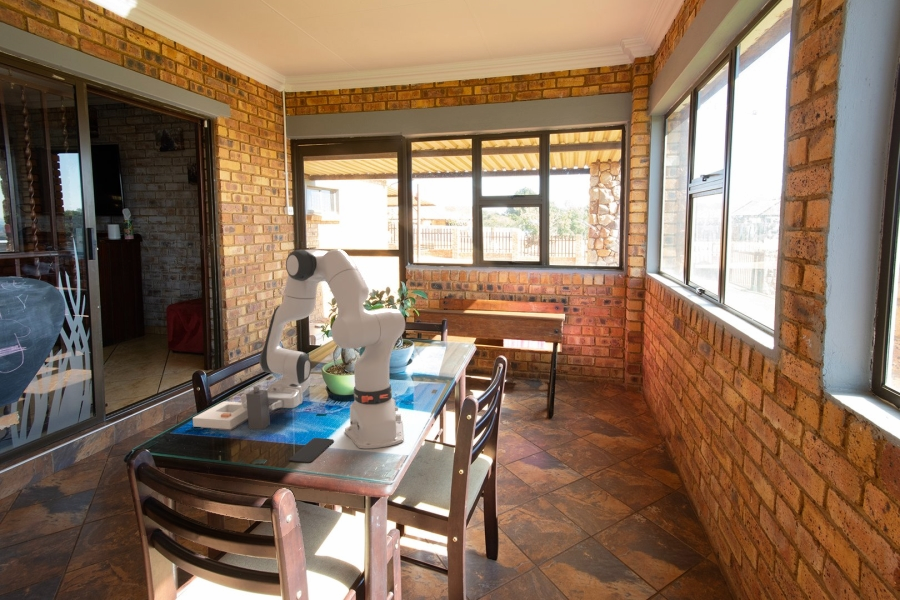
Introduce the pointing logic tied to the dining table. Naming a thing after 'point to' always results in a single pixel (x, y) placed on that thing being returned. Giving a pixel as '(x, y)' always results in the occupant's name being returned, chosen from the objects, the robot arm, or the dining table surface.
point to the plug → (258, 409)
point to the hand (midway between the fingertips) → (257, 406)
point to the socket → (222, 416)
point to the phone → (311, 450)
